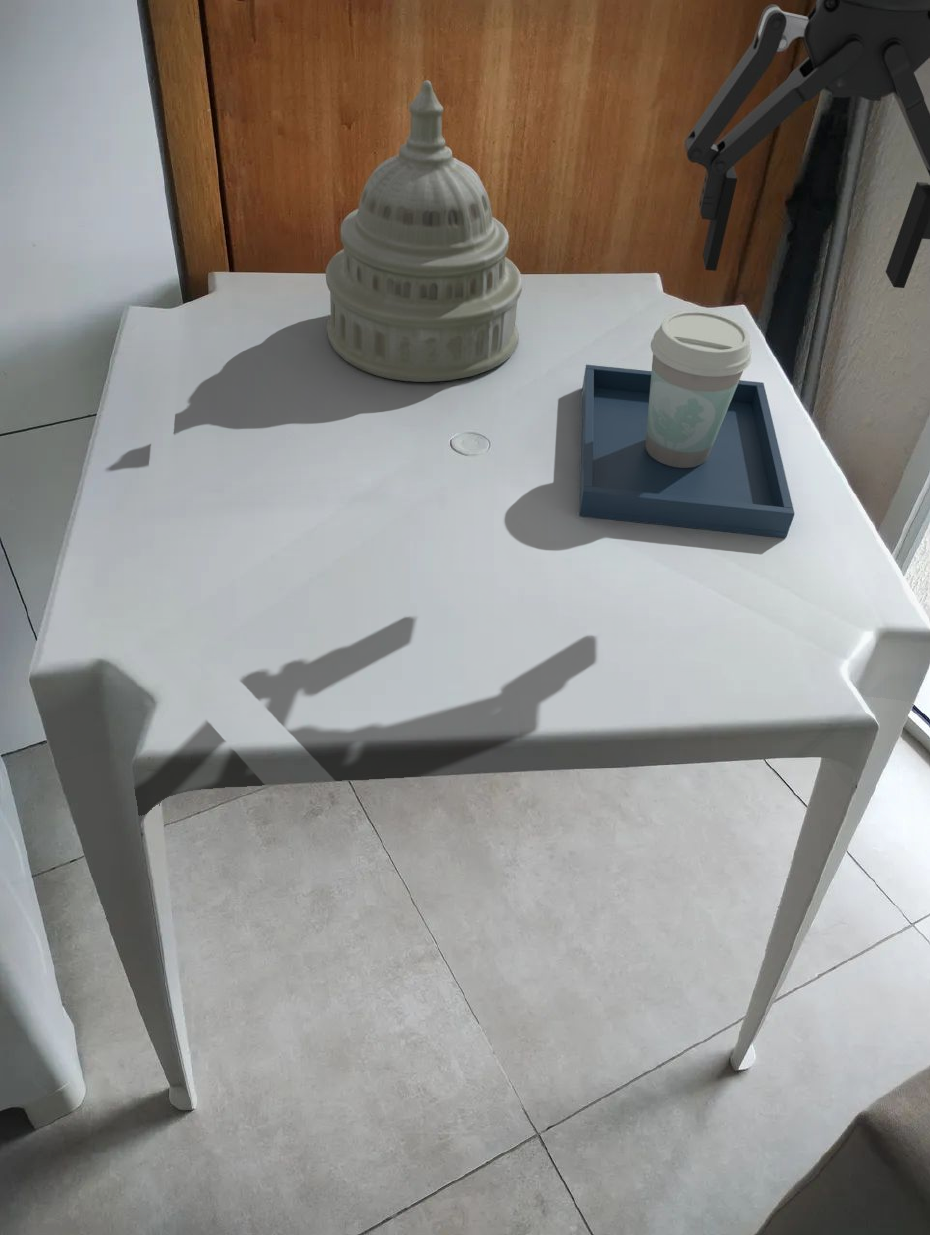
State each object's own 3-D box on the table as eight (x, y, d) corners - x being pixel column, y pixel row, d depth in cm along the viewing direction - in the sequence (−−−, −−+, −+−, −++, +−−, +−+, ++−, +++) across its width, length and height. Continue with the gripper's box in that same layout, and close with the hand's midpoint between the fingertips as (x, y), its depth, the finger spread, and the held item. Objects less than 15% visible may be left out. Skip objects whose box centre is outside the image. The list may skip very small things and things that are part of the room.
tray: (786, 538, 85) (794, 513, 83) (579, 516, 85) (583, 491, 84) (756, 405, 101) (763, 382, 99) (582, 387, 101) (585, 364, 99)
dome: (565, 117, 84) (324, 116, 81) (534, 381, 101) (334, 388, 98) (517, 51, 99) (310, 47, 95) (497, 292, 116) (321, 296, 112)
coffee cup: (611, 445, 93) (634, 324, 84) (670, 415, 97) (697, 298, 89) (683, 488, 88) (714, 366, 80) (741, 455, 93) (777, 336, 84)
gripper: (1091, -69, 62) (958, 266, 76) (687, -102, 63) (630, 236, 77) (1141, -48, 56) (987, 309, 71) (698, -84, 57) (634, 276, 71)
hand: (801, 272), depth 74 cm, fingers open, 13 cm apart
